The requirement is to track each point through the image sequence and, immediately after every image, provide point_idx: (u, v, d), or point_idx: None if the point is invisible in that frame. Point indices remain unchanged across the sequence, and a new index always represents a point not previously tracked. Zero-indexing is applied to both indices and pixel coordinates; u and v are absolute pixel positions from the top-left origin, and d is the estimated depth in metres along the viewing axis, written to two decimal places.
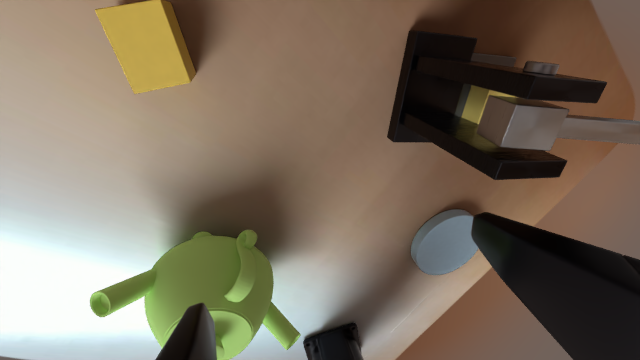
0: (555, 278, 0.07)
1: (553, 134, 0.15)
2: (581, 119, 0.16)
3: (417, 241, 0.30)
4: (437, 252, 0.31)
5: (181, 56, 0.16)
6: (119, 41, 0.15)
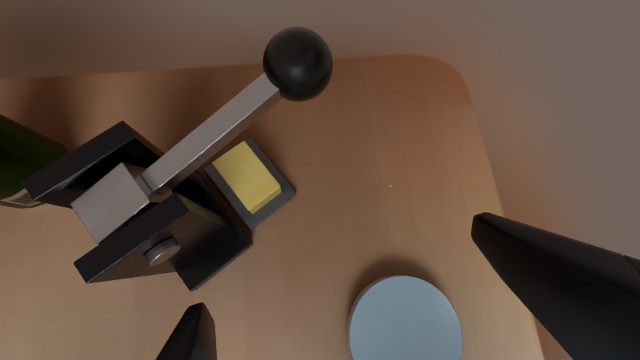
0: (555, 278, 0.07)
1: (133, 188, 0.12)
2: (169, 151, 0.13)
3: None
4: (397, 358, 0.20)
5: None
6: None
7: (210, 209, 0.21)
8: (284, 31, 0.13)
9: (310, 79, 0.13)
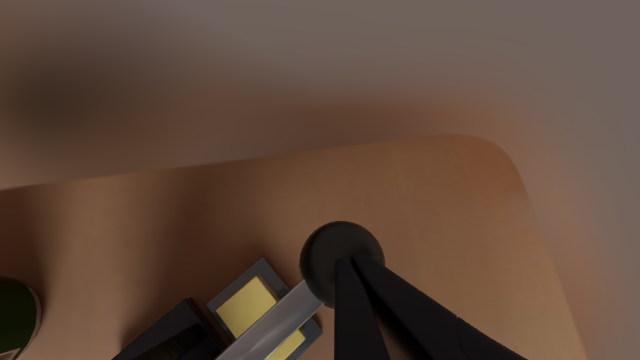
0: (398, 336, 0.07)
1: None
2: None
3: None
4: None
5: None
6: None
7: None
8: (334, 236, 0.10)
9: None
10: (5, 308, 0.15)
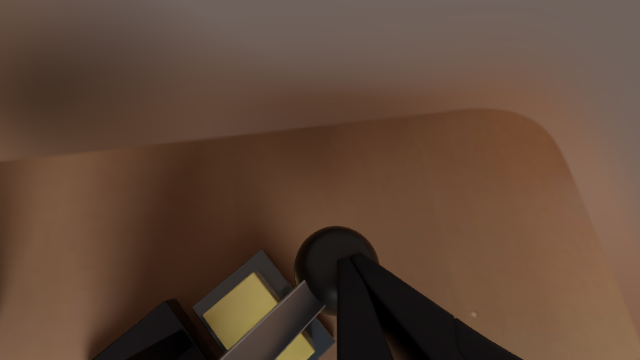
0: (396, 337, 0.07)
1: None
2: None
3: None
4: None
5: None
6: None
7: None
8: (337, 234, 0.10)
9: None
10: None
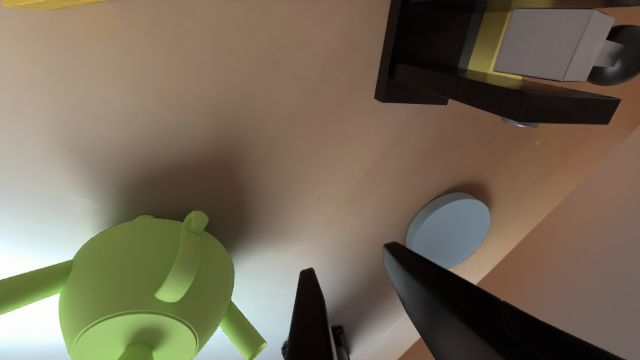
0: (440, 321, 0.07)
1: (595, 56, 0.11)
2: None
3: (413, 230, 0.26)
4: (437, 243, 0.27)
5: None
6: None
7: (454, 43, 0.18)
8: None
9: (622, 82, 0.17)
10: None
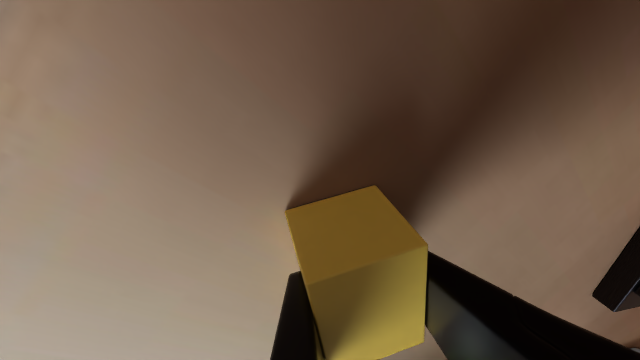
0: (451, 317, 0.07)
1: None
2: None
3: None
4: None
5: None
6: (333, 319, 0.07)
7: None
8: None
9: None
10: None
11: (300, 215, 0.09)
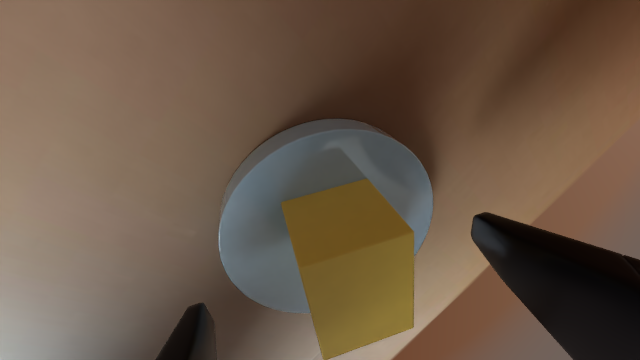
0: (555, 278, 0.07)
1: None
2: None
3: (220, 217, 0.10)
4: None
5: None
6: (325, 302, 0.08)
7: None
8: None
9: None
10: None
11: (295, 206, 0.09)
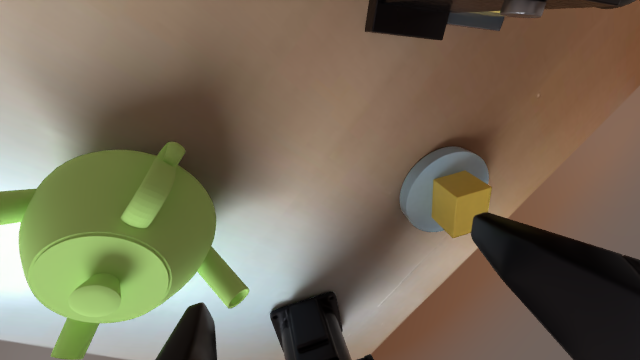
0: (555, 278, 0.07)
1: None
2: None
3: (407, 185, 0.25)
4: None
5: None
6: (460, 212, 0.23)
7: None
8: None
9: (629, 1, 0.15)
10: None
11: (441, 180, 0.24)
